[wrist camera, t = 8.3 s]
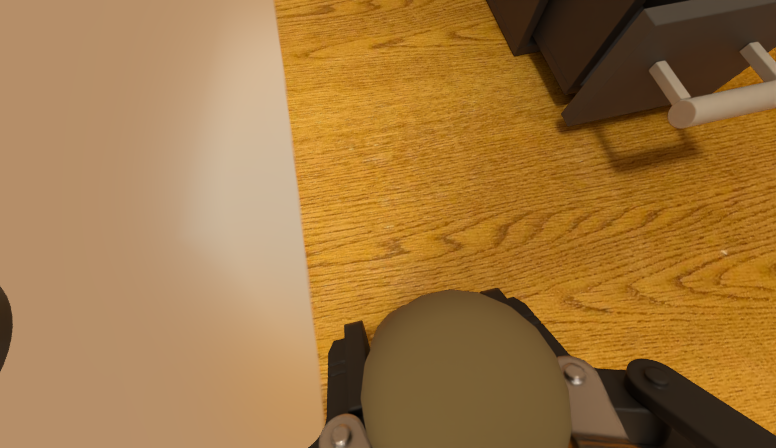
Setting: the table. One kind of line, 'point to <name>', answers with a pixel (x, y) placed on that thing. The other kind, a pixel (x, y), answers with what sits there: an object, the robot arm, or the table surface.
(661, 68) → the drawer
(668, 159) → the table surface
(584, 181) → the table surface
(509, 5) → the small storage chest
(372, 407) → the pepper shaker
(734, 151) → the table surface
